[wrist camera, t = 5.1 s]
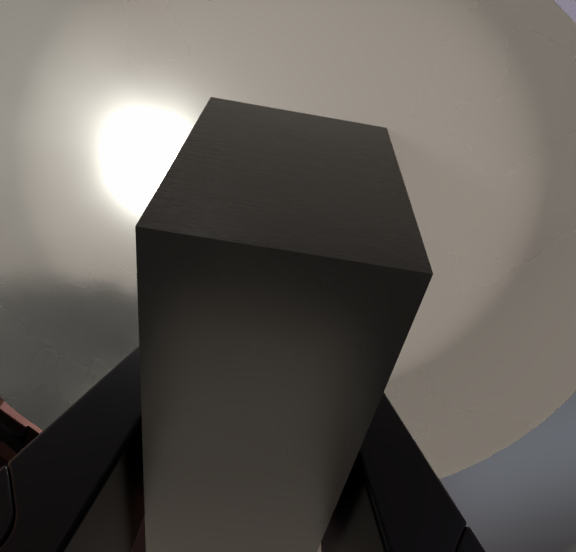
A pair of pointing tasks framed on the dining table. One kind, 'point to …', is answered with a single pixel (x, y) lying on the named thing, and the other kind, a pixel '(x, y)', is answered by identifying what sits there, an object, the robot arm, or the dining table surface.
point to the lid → (288, 238)
